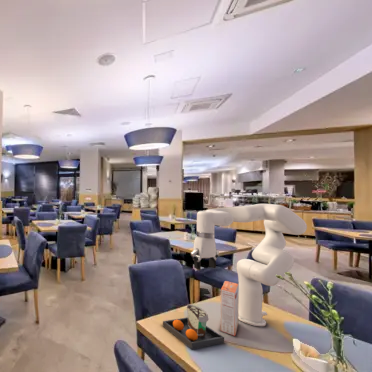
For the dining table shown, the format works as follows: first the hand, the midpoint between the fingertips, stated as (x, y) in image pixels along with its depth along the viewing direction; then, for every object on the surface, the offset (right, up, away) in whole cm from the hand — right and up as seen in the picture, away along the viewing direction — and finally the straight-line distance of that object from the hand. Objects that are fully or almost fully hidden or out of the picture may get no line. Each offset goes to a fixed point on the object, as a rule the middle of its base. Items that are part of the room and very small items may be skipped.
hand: (204, 268), depth 119 cm
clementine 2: (-17, -25, -15) cm, 34 cm away
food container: (-9, -28, -9) cm, 30 cm away
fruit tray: (-13, -28, -10) cm, 32 cm away
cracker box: (+9, -28, -4) cm, 30 cm away
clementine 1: (-18, -25, -8) cm, 32 cm away
